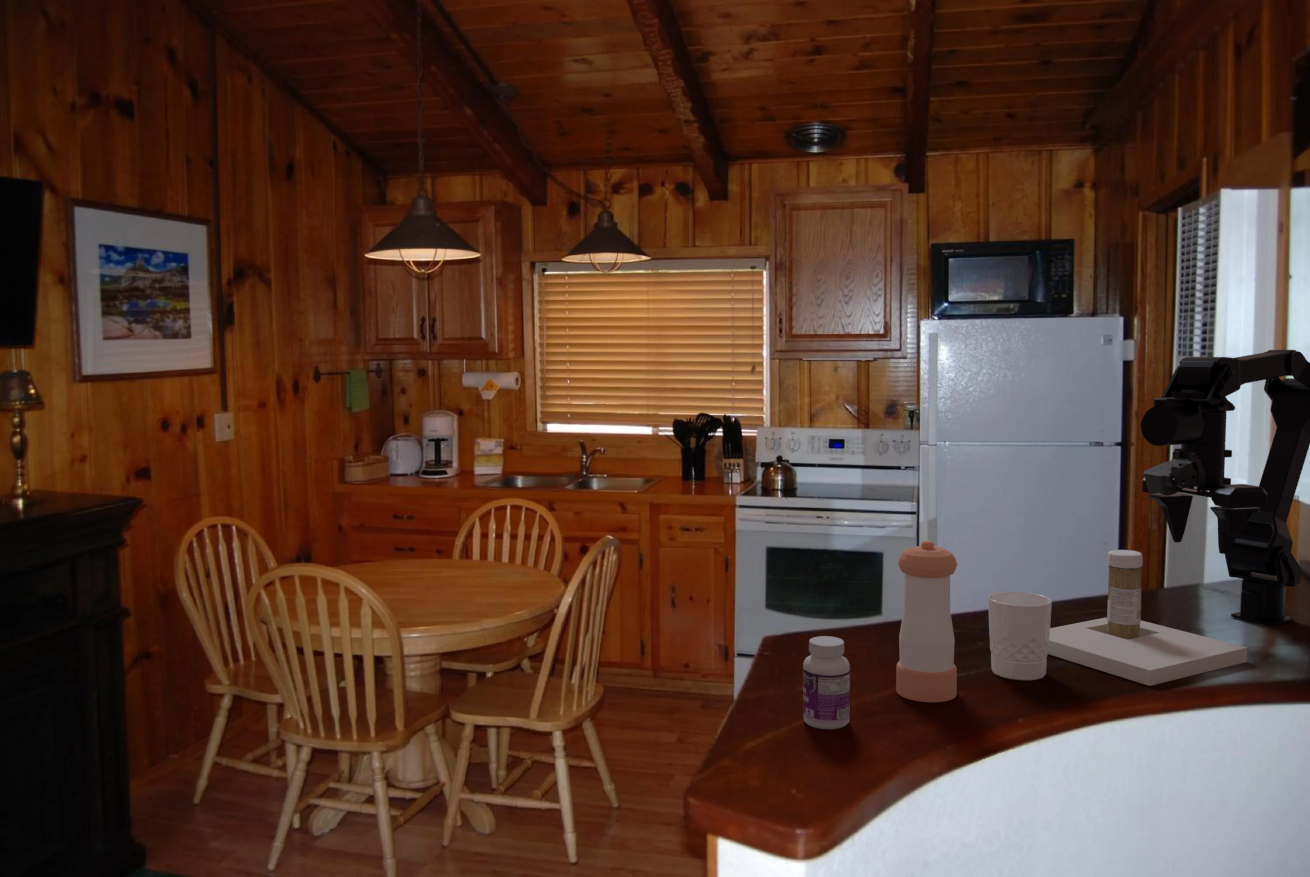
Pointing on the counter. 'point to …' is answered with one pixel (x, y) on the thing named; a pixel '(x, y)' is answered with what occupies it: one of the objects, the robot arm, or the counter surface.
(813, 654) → the pill bottle
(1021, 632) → the white cup
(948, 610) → the pepper shaker
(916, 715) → the counter surface
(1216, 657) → the block
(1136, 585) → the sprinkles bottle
